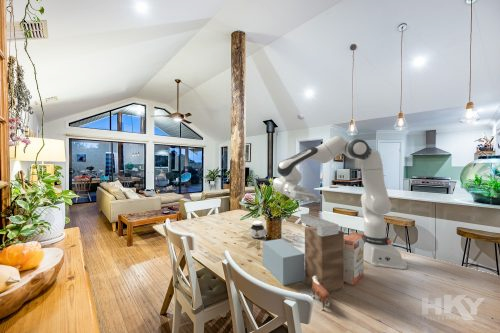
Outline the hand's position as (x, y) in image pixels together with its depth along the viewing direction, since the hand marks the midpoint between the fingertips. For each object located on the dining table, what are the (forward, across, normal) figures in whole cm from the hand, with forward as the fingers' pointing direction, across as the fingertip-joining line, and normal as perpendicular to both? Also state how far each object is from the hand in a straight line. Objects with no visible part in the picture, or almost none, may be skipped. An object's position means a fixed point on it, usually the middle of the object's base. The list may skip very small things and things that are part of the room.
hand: (314, 200), depth 117 cm
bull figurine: (+27, -16, +35) cm, 47 cm away
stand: (+22, -4, +34) cm, 40 cm away
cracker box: (+27, +12, +29) cm, 41 cm away
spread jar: (-44, +19, +46) cm, 66 cm away
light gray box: (+11, -10, +10) cm, 18 cm away
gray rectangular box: (+2, -9, +40) cm, 41 cm away
